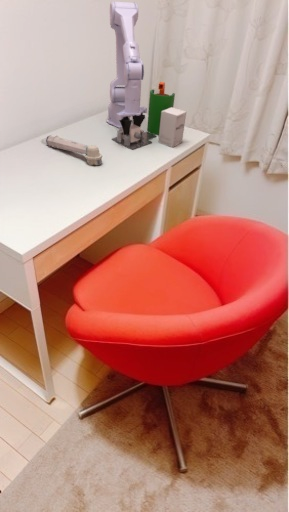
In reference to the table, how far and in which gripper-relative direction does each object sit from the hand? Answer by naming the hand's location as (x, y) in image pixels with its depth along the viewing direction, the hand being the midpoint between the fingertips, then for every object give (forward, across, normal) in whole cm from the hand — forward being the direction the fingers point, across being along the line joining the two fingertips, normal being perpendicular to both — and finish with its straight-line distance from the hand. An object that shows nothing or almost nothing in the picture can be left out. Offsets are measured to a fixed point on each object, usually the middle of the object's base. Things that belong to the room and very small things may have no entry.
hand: (131, 134), depth 140 cm
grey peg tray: (+3, +4, 0) cm, 5 cm away
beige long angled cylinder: (+4, -24, +5) cm, 25 cm away
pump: (+2, 0, 0) cm, 2 cm away
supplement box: (+3, +13, -10) cm, 17 cm away
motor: (+3, +18, +1) cm, 18 cm away
